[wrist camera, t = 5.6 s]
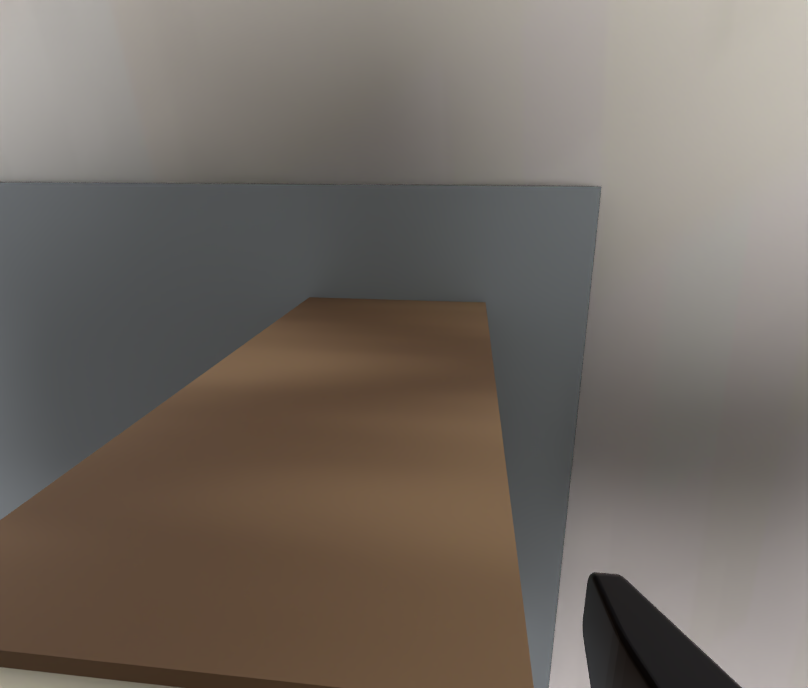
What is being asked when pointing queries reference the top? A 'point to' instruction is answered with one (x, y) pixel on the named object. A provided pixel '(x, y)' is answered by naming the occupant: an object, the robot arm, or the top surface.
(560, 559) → the mat
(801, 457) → the top surface
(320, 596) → the walnut slab
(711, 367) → the top surface
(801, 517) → the top surface
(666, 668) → the robot arm
